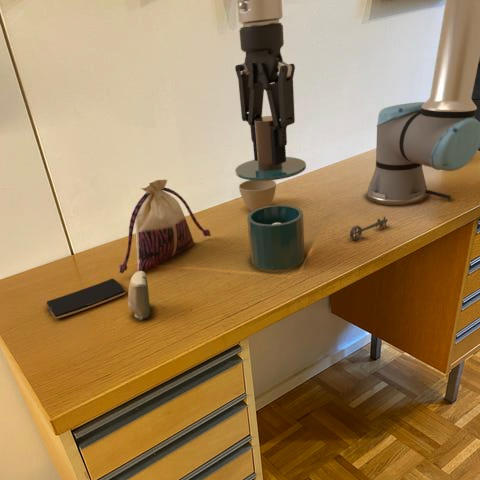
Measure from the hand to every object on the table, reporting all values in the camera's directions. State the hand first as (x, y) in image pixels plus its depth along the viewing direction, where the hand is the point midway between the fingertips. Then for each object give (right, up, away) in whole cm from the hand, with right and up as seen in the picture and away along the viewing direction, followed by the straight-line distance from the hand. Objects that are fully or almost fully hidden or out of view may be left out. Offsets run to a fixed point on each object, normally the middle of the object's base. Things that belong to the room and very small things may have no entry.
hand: (270, 160), depth 96 cm
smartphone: (-38, -28, +5) cm, 47 cm away
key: (+24, -11, +18) cm, 32 cm away
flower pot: (-1, -1, +39) cm, 39 cm away
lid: (0, -1, +1) cm, 2 cm away
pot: (+2, -18, +12) cm, 22 cm away
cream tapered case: (-24, -30, -2) cm, 39 cm away
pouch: (-23, -17, +18) cm, 34 cm away
